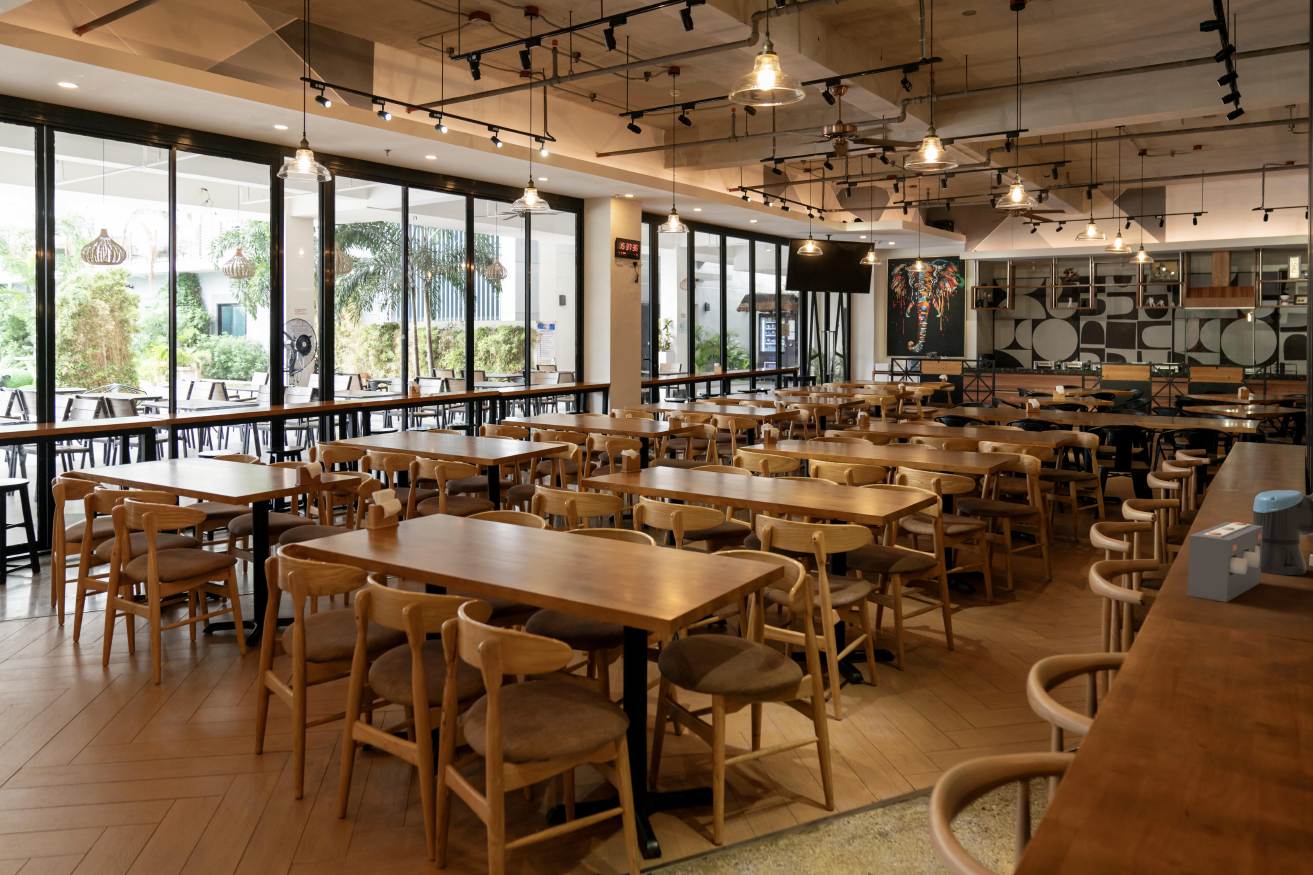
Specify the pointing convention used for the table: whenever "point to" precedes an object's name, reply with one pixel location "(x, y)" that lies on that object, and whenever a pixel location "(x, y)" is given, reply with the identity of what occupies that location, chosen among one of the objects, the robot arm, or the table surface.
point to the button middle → (1252, 558)
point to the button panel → (1222, 561)
